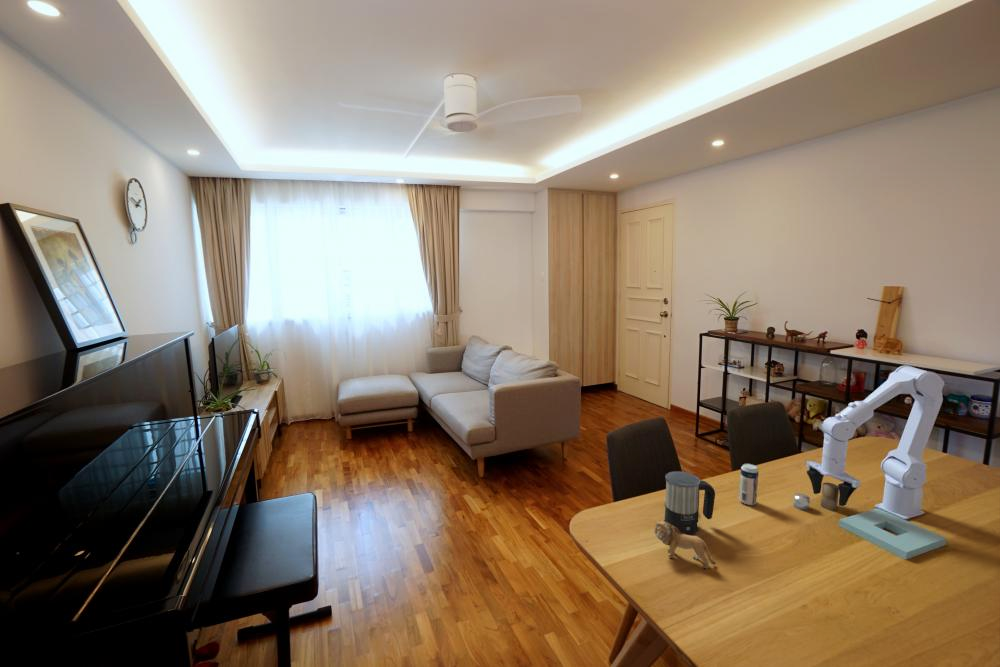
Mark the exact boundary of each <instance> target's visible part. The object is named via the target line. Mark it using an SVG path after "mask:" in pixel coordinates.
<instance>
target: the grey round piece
mask: <svg viewBox="0 0 1000 667" xmlns="http://www.w3.org/2000/svg"><path fill="white" fill-rule="evenodd" d="M810 501H811V498H810V496H809V495H806V494H803V493H800V492H799V493H798V492H797V493H794V494H793V504H792V506H793V507H794V508H795V509H797V510H800V511H809V509H810Z"/></svg>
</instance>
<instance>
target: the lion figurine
mask: <svg viewBox="0 0 1000 667" xmlns="http://www.w3.org/2000/svg"><path fill="white" fill-rule="evenodd" d="M653 531H654V534H655V537H656V538H657V540H659V541H661V542H662V544H663V545H666V546H668V547H669V548H668V549H667V553H669V552H671V553H670V554H668V559H670V558H673V559H674V558H675V557H676V554H675V552H676V550H677V548H680V549H682V550H690V549H693V551H694V553H695V554H693V555H692V559H694V558H695V559H694V560H698V559H700V560H701V561H702V562H704V564H702V566H703V567H702V568H703V569H704V568H706V569H705V570H707V569H709V564H712V565H716V564H717V562H715V561H714V560H712V558H711V555H710V554H711V553H710V551H709V548H708V546H707V544H706V541H704V540H703V539H702V538H701V537H700V536H697V535H685V534H682V533H681V532H680V531H679V530H678V529H677V528H676V527H674V526H673V525H671V524H670V523H668V522H666V521H665V522H664V520H659V521H657V522H655V527H654V530H653ZM704 549H705V551H704ZM704 552H706V555H707V557H706V555H705V553H704ZM709 562H710V563H709Z"/></svg>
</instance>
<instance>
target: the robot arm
mask: <svg viewBox="0 0 1000 667" xmlns="http://www.w3.org/2000/svg"><path fill="white" fill-rule="evenodd" d="M944 386H945V381H944V380H943V379H942V377H940V375H939V374H938V373H936V372H933V371H929V370H928V371H927V370H924V369H920V368H916V367H915V366H912V365H907V364H906V365H905V364H904V365H900V366H899V367H897V368H896V369H895V370H894V371H892V372H891V373H889V375H888V378H887V379H886V381H884V382H883V383H882V384H880V386H878V387H877V388H876V389H875V390H874V391H873V392H872V393H870V394H869V395H868V396H867V397H865V399H863V400H855V401H854V402H849V403H848V406H847V407H845V408H844V409H842V410H841V411H840V412H838V413H836V414H835V415H834V416H829V417H827V418H826V419H824V420H823V422H822V423H821V424H820V429H821V431H822V432H823V437H824V438H823V445H822V446H823V448H822V452H821V453H822V456H821V457H822V458H821V463H818V462H815V461H812V460H808V461H806V466H805V467H806V469H808V470H807V471H806V474H807V476H808V478H809V480H810V482H811V486H812V491H813V494H814V495H819V494H821V492H822V486H823V480H824V476H825V477H830V478H833V479H835V480H837V481H839V482H840V481H841V483H838V485H837V486H838V487H839V493H838V494H839V496H838V506H841V507H844V506H846V505H847V503H848V501H849V500H850V499H849V498H850V497H851V496H852V494H853V493H854V492H855V491H856V490H857V488H860V487H861V480H860V479H858V478H855V477H854V476H852V475H850V474H849V473H847V472H846V470H845V469H846V461H847V452H848V443H849V442H848V441H849V440H850V439H852V438H853V437H854V436H855V432H856V431H857V428H859V427H860V426H862V425H863V424H864V423H866V422H867V421H868V420H870V419H871V418H873V417H874V410H876V409H877V408H879V407H881V406H882V405H883V404H886V403H888V401H890V400H892V399H893V398H895V397H897V396H898V395H910V396H911V397H912V398H913V399H914V402H913V404H912V408H911V411H910V413H909V416H908V419H907V422H906V424H905V427H904V430H903V432H902V434H901V437H900V439H899V440H900V441H899V443H898V445H897V448H894V449H892V450H890V451H888V453H887V455H886V457H885V458H884V459H883V460H882V461H881V462H880V469H881V471H882V472H883V474H884V478H885V481H884V482H885V483H884V488H883V489H884V490H883V495H882V496H883V497H882V502H880V503H877V504H875V505H874V506H875V508H879V509H881V510H883V511H886V512H888V513H890V514H892V515H895V516H897V517H899V518H902V519H904V520H908V519H911V518H914V517H918V516H921V515H924V514H925V511H923V510H922V504H923V495H924V491H923V488H922V487H923V486H924V485H925V483H926V481H927V474H926V473H927V472H926V471H927V469H928V466H927V464H926V462H925V461H924V458H923V457H922V456H923V454H924V451H925V449H926V447H927V443H928V440H929V438H930V435H931V433H932V430H933V429H934V428H933V427H934V425H935V422H936V420H937V417H938V414H939V412H940V410H941V407H942V404H943V401H944V398H943V388H944Z"/></svg>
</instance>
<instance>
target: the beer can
mask: <svg viewBox="0 0 1000 667" xmlns="http://www.w3.org/2000/svg"><path fill="white" fill-rule="evenodd" d="M759 472H760V471H759V469H758V467H757V466H756V465H755V464H753V463H752V464H751V463H744V464H742V466H741V467H740V475H739V477H740V478H739V488H738V489H739V490H738V492H739V493H738V501H739V502H740V503H741V504H743V503H744V505H746V504H747V505H746V506H754V505H756V504H757V496H758V495H757V494H758V485H759V484H758V482H759Z"/></svg>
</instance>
